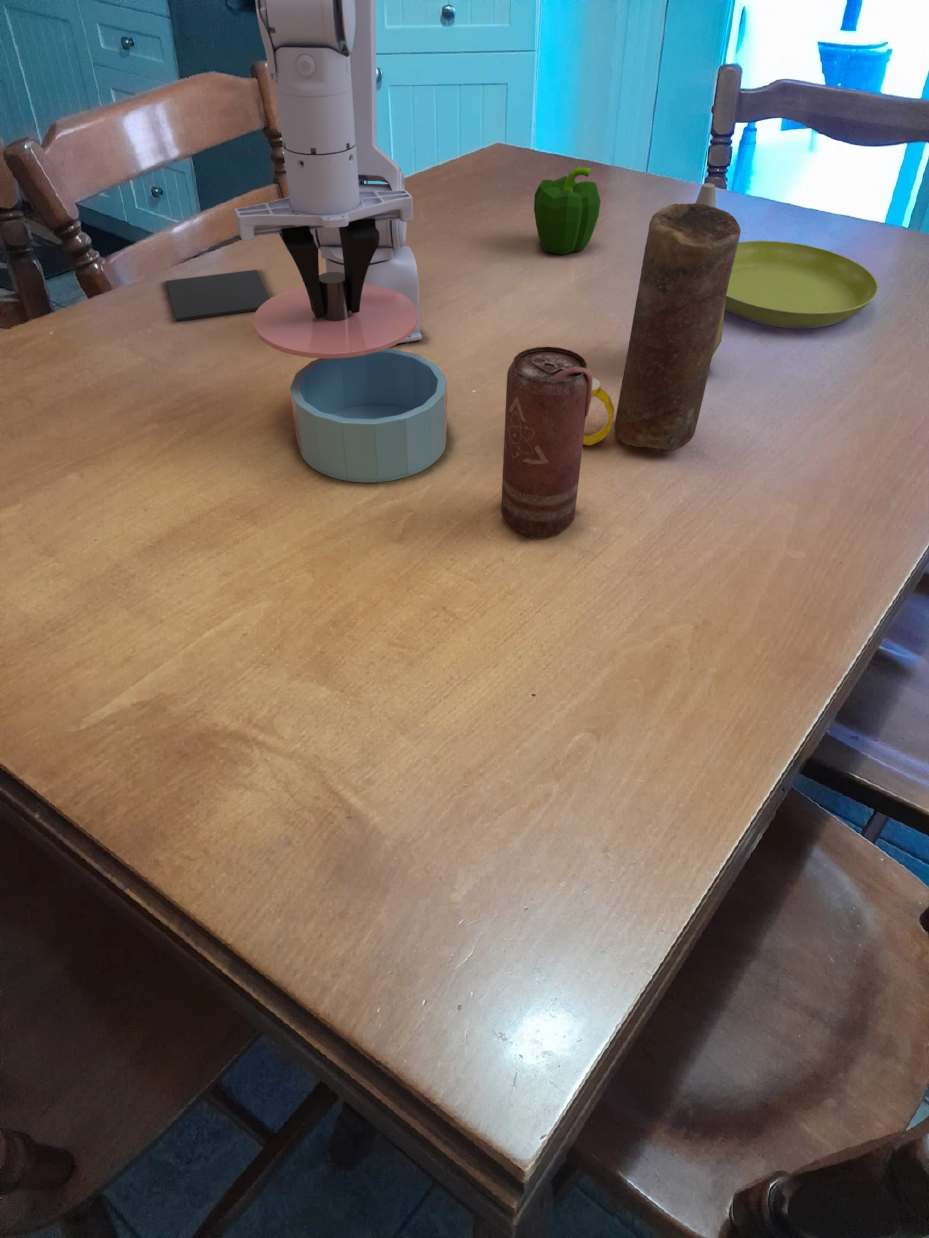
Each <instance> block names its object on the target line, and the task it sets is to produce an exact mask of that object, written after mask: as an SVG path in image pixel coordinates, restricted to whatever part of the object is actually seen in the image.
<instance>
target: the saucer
mask: <svg viewBox="0 0 929 1238" xmlns="http://www.w3.org/2000/svg"><path fill="white" fill-rule="evenodd" d="M878 292H879V283H878V281H877V279H876V277H875V276H874V275H873V273H871V272H870V271H869V270H868V269H867V268H866V267H864V266H863V265H862V264H861V263H859V262H857V261H855V260H853V259H851V258H849V257H846V256H844V255H841V254H839V253H837V252H833V251H831V250H827V249H824V248H820V247H815V246H811V245H807V244H801V243H795V242H788V241H779V240H778V241H777V240H746V241H739V242H738V245H737V249H736V254H735V259H734V263H733V267H732V272H731V276H730V280H729V285H728V289H727V294H726V302H725V311H727V312H729V313H730V314H732V315H735V316H737V317H739V318H741V319H743V320H747V321H750V322H752V323H756V324H760V325H764V326H765V325H766V326H769V327H776V328H783V329H816V328H823V327H828V326H831V325H834V324H837V323H840V322H842V321H844V320H846V319H848V318H850V317H853V316H854V315H856V314H857V313H859V312H861V310H863V309H864V308H866V306H868V305H869V304H870V303H871V302H872V301H873V300H874V299H876V297H877V295H878Z"/></svg>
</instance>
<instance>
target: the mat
mask: <svg viewBox="0 0 929 1238" xmlns="http://www.w3.org/2000/svg"><path fill="white" fill-rule="evenodd" d="M165 283H166V287H167V291H168V295H169V299H170V303H171V307H172V310H173V314H174V318H175V320H176V322H184V321H190V320H196V319H204V318H205V319H206V318H212V317H219V316H226V315H227V316H228V315H234V314H235V315H236V314H241V313H242V314H243V313H249V312H256V311H257V310H258V308H259V307H260V306H261V305H262V304H263V303H265V302H266V301H267V300H269V299H270V298H271V297H270V296H269V294H268V292H267V289H266V287H265V285H264V283H263V281H262V279H261V276H260V274H259V271H258V269H250V270H243V271H233V272H227V273H226V272H225V273H218V274H210V275H203V276H202V275H201V276H195V277H185V278H179V279H178V278H177V279H170V280H169V279H168V280H165Z"/></svg>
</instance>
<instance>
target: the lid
mask: <svg viewBox="0 0 929 1238" xmlns="http://www.w3.org/2000/svg"><path fill="white" fill-rule="evenodd" d="M319 282H320V289H321V295H322V301H323V307H324V317H322V318H316V317H315V315H314V313H313V311H312V309H311V304H310V300H309V296H308V293H307V290H306V287H305V285H303V286H302V285H301V286H298V287H294V288H291V289H287V290H286V291H282V292H280V293H278V294H276V295H274V296H272V297H269V298H270V299H269V300H267V301H266V302H265V303H263V304H262V305H261V306H260V307H259V308H258V310H257V311H255V313H254V315H253V318H252V319H253V321H252V324H253V325H252V326H253V329H254V333H255V334H256V337H258V338H259V340H260V341H262V342H263V343H264V344H266V345H267V346H269V347H270V348H272V349H274V350H276V351H278V352H279V351H280V352H282V353H284V354H288V355H292V356H297V357H301V358H302V357H304V358H310V359H319V358H322V359H335V358H349V357H357V356H362V355H368V354H371V353H375V352H379V351H382V350H385V349H391V348H392V347H394V346H397V345H398V344H401V343H400V342H402V341H403V340H404V339H406V338H407V337H408V336H409V335H410V334H411V333H412V332H413V331H414V329H415V328H416V325H417V323H418V313H417V309H416V307H415V305H414V304H413V303H412V301H411V300H409V299H408V298H407V297H406V296H404V295H402V294H400V293H399V292H396V291H394V290H391V289H388V288H385V287H382V286H378V285H372V284H366V283H364V284H363V289H362V294H361V300H360V311H359V312H357V313H352V312H351V311H350V301H349V289H348V277H347V275H346V274H344V273H341V272H326V271H325V272H323V273H321V274H319Z"/></svg>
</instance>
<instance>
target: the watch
mask: <svg viewBox="0 0 929 1238" xmlns="http://www.w3.org/2000/svg"><path fill="white" fill-rule="evenodd" d="M594 397H596V398H597V399H598V400H600V401H601V402H602V403H603V405H604V406H605V409H606V411H607V414H608V419H607V422H606V423H605V424H604V426H603V427H602V428H601V429H600V430H598V431H596V432H594V433H592V434H590V435H588V434H587V435H586V434H584V438H583V446H584V445H585V446H589V447H591V446H593V445H595V444H597V443H599V442H601V441H603V440H604V439H605V437H606V436H608V434H609V432H610V431H611V430H612V429H611V428H612V426H613V419H614V413H615V408H614V404H613V401H612V399H611V397H610V395H609V394H608V392H607V391H605V390H604V389H603V388H602V387H601V383H600V381H599V380H598V379H597V378H595V377H592V398H594Z"/></svg>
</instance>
